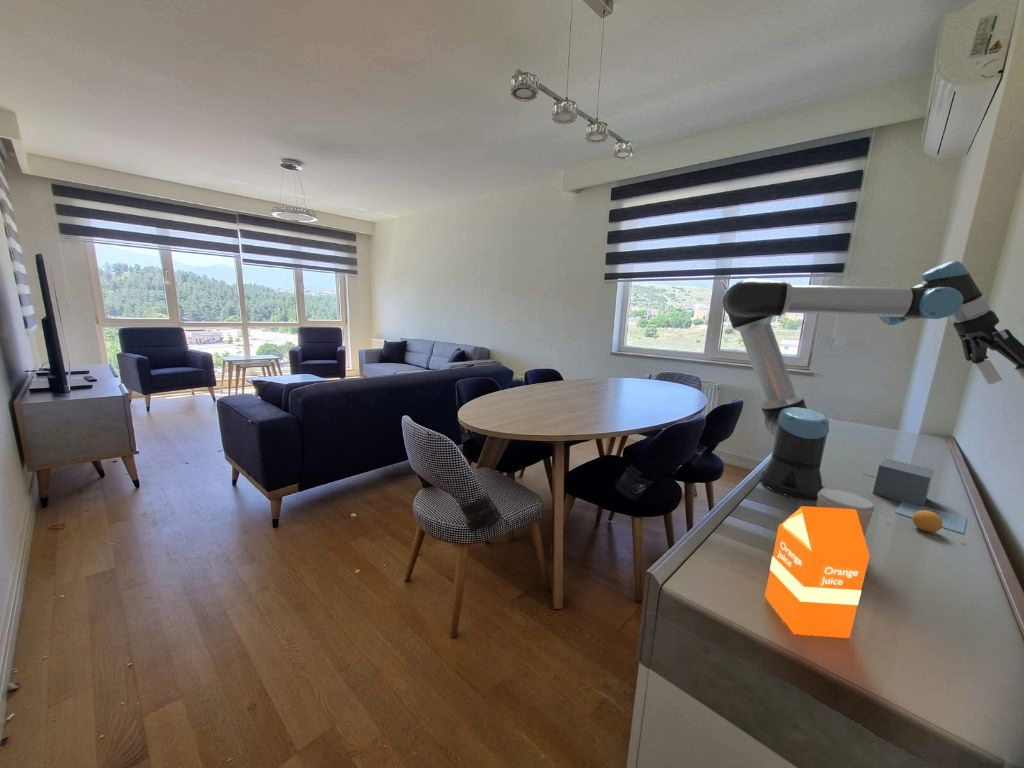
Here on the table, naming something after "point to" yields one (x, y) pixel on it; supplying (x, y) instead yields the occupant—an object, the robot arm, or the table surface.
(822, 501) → the coffee cup
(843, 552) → the orange juice
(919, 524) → the ball
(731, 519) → the table surface
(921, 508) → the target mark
